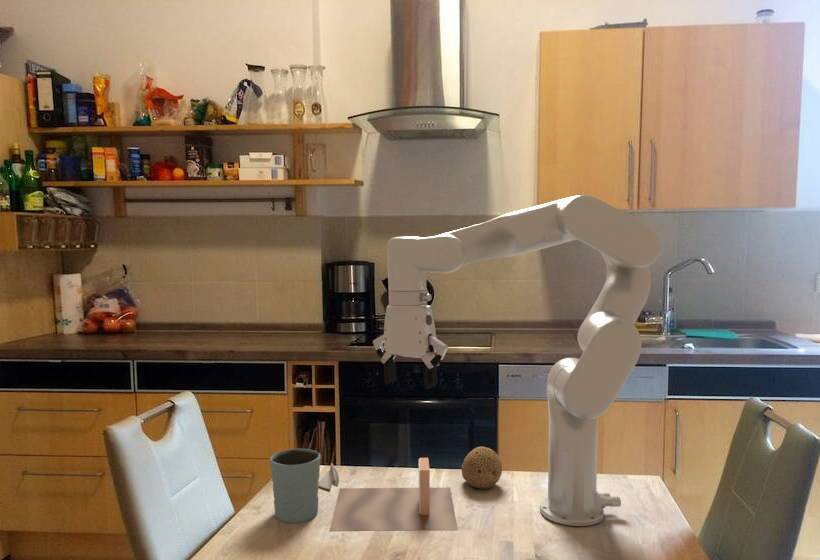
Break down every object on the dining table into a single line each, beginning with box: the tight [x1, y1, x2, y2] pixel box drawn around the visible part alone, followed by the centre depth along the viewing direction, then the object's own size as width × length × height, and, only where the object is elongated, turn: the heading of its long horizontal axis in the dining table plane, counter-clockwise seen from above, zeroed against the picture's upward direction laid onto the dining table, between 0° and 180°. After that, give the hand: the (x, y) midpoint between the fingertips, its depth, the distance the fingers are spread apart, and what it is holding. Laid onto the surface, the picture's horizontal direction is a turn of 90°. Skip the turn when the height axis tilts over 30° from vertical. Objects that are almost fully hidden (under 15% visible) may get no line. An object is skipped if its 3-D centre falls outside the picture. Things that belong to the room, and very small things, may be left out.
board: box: [329, 486, 459, 532], centre depth 130 cm, size 24×20×2 cm
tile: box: [418, 457, 431, 515], centre depth 129 cm, size 2×7×9 cm, turn 1°
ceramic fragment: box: [318, 462, 340, 491], centre depth 146 cm, size 14×5×4 cm, turn 11°
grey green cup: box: [269, 448, 321, 524], centre depth 130 cm, size 10×10×12 cm
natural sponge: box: [461, 446, 503, 490], centre depth 140 cm, size 9×9×10 cm
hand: (410, 384), depth 128 cm, fingers open, 9 cm apart
